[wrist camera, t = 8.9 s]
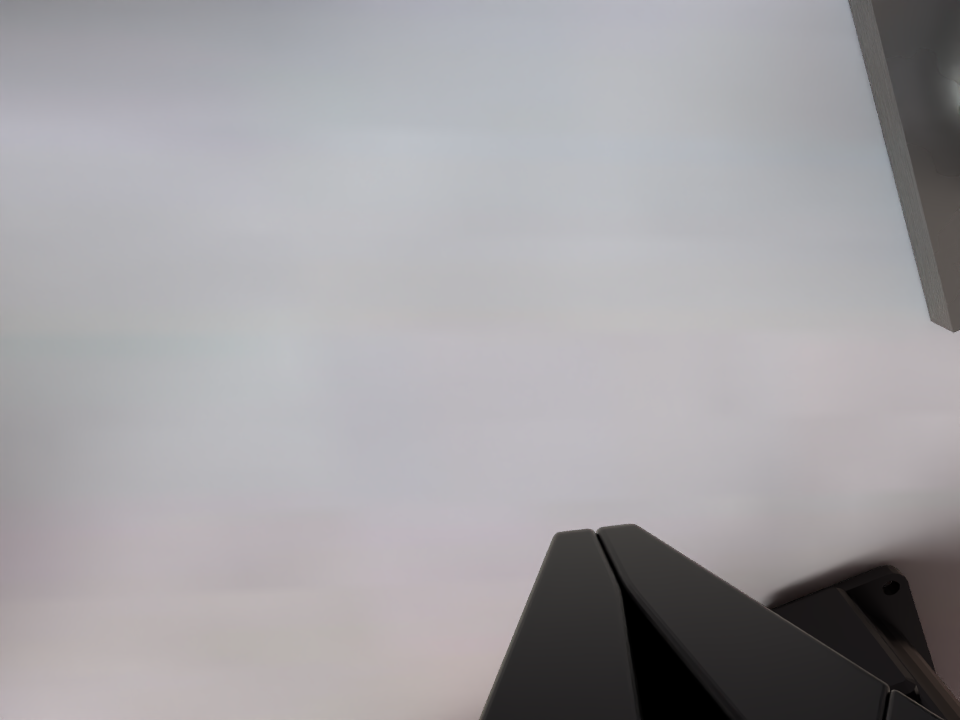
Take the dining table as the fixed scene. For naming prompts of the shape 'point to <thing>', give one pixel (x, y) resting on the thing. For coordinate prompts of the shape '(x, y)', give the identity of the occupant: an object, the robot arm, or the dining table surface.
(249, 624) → the dining table surface
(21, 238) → the dining table surface
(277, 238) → the dining table surface
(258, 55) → the dining table surface
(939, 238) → the flange plate
